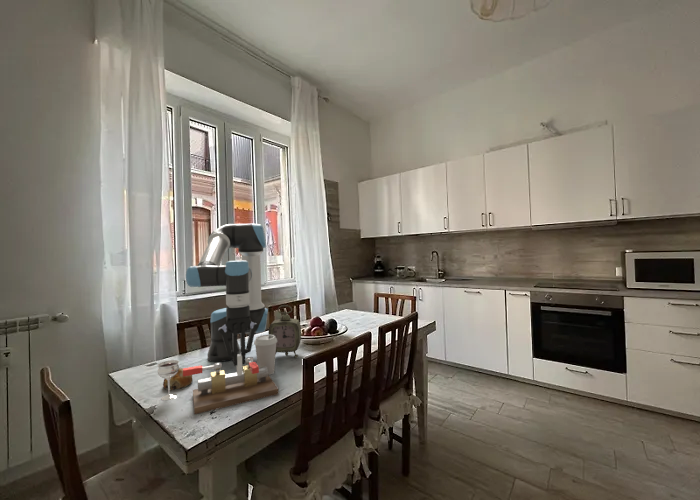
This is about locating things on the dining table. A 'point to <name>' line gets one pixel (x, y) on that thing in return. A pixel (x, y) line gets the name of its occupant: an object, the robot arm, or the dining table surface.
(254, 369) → the valve lever
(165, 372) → the wineglass
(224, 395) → the valve board
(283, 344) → the tabletop clock
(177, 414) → the dining table surface
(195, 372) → the valve lever
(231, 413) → the dining table surface
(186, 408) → the dining table surface
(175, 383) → the bread roll
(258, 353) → the coffee cup
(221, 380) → the manifold pipe
